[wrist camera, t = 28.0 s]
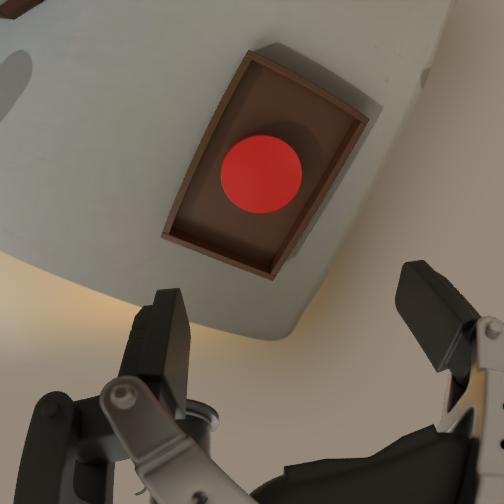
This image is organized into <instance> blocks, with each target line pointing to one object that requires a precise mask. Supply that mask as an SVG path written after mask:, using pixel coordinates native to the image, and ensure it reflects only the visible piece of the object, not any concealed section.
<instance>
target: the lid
mask: <svg viewBox="0 0 504 504" xmlns="http://www.w3.org/2000/svg"><path fill="white" fill-rule="evenodd" d="M301 179H302V168H301V163H300V160H299V158H298V156H297V154H296V153H295V151H294V150H293V149H292V148H291V147H290V146H289V145H288V144H287V143H286V142H284V141H283V140H282V139H281V138H280V137H278V136H277V137H276V136H274V135H271V134H266V133H254V134H249V135H246V136H244V137H242V138H240V139H238V140H237V141H235V142H234V143H233V144H232V145H231V146H230V147H229V149H228V150H227V152H226V153H225V155H224V158H223V161H222V166H221V182H222V186H223V189H224V191H225V193H226V195H227V196H228V198H229V199H230V200H231V201H232V202H233V203H234V204H235V205H237V206H238V207H239V208H241V209H243V210H246V211H249V212H253V213H267V212H272V211H275V210H278V209H280V208H281V207H283V206H285V205H286V204H287V203H288V202H290V201H291V200H292V198H293V197H294V196H295V194H296V193H297V191H298V189H299V187H300V184H301Z"/></svg>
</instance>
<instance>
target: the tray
mask: <svg viewBox="0 0 504 504" xmlns="http://www.w3.org/2000/svg"><path fill="white" fill-rule="evenodd" d="M368 121H369V119H368V118H367V117H366V116H364V115H363V114H361V113H360V112H358V111H357V110H355V109H354V108H352V107H351V106H349V105H348V104H346V103H345V102H343V101H342V100H340V99H339V98H337V97H336V96H334V95H332V94H331V93H329V92H327V91H326V90H324V89H322V88H321V87H319V86H317V85H316V84H314V83H312V82H311V81H309V80H307V79H305V78H304V77H302V76H300V75H298V74H296V73H294V72H293V71H291V70H289V69H287V68H285V67H283V66H281V65H279V64H277V63H275V62H273V61H271V60H269V59H267V58H265V57H263V56H261V55H259V54H257V53H254V52H252V51H250V50H248V52H247V53H246V55H245V57H244V59H243V60H242V62H241V64H240V66H239V68H238V69H237V71H236V73H235V75H234V77H233V79H232V80H231V82H230V84H229V86H228V88H227V90H226V92H225V94H224V96H223V97H222V99H221V101H220V103H219V105H218V107H217V109H216V111H215V113H214V115H213V117H212V119H211V121H210V123H209V125H208V127H207V130H206V132H205V134H204V136H203V138H202V140H201V142H200V144H199V146H198V149H197V151H196V153H195V155H194V157H193V160H192V162H191V164H190V166H189V169H188V171H187V173H186V175H185V178H184V180H183V182H182V185H181V187H180V189H179V192H178V194H177V197H176V199H175V201H174V204H173V206H172V209H171V211H170V214H169V216H168V219H167V221H166V224H165V227H164V229H163V232H162V234H161V238H163V239H166V240H168V241H171V242H173V243H176V244H178V245H181V246H183V247H186V248H189V249H191V250H194V251H196V252H199V253H201V254H204V255H207V256H209V257H212V258H214V259H217V260H219V261H222V262H225V263H227V264H230V265H232V266H235V267H238V268H240V269H243V270H246V271H248V272H251V273H254V274H256V275H259V276H261V277H264V278H267V279H269V280H272V281H273V280H274V278H275V276H276V275H277V273H278V272H279V270H280V269H281V267H282V265H283V264H284V262H285V261H286V259H287V257H288V256H289V254H290V253H291V251H292V249H293V248H294V246H295V245H296V243H297V241H298V240H299V238H300V236H301V235H302V233H303V232H304V230H305V228H306V227H307V225H308V223H309V222H310V220H311V218H312V217H313V215H314V214H315V212H316V210H317V209H318V207H319V205H320V204H321V202H322V200H323V199H324V197H325V195H326V194H327V192H328V190H329V189H330V187H331V185H332V183H333V182H334V180H335V178H336V177H337V175H338V173H339V172H340V170H341V168H342V166H343V165H344V163H345V161H346V160H347V158H348V156H349V154H350V153H351V151H352V149H353V147H354V146H355V144H356V142H357V140H358V139H359V137H360V135H361V133H362V132H363V130H364V128H365V126H366V124H367V123H368ZM254 133H266V134H271V135H274V136H276V137H277V136H278V137H280V138H281V139H282V140H283V141H284V142H286V143H287V144H288V145H289V146H290V147H291V148H292V149H293V150H294V151H295V153H296V154H297V156H298V158H299V160H300V163H301V168H302V179H301V184H300V187H299V189H298V191H297V193H296V194H295V196H294V197H293V198H292V200H291V201H290V202H288V203H287V204H286V205H285V206H283V207H281V208H280V209H278V210H275V211H272V212H267V213H253V212H249V211H246V210H243V209H241V208H239V207H238V206H237V205H235V204H234V203H233V202H232V201H231V200H230V199H229V198H228V196H227V195H226V193H225V191H224V189H223V186H222V182H221V166H222V161H223V158H224V155H225V153H226V152H227V150H228V149H229V147H230V146H231V145H232V144H233V143H234V142H235V141H237V140H238V139H240V138H242V137H244V136H246V135H249V134H254Z"/></svg>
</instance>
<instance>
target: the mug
mask: <svg viewBox="0 0 504 504" xmlns="http://www.w3.org/2000/svg"><path fill="white" fill-rule="evenodd" d="M42 2H43V0H0V18H5V19H16V18H17V17H19V16H20V15H22V14H23V13H25V12H27V11H28V10H30V9H31V8H33V7H35V6H36V5H38V4H40V3H42Z"/></svg>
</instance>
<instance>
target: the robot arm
mask: <svg viewBox="0 0 504 504" xmlns="http://www.w3.org/2000/svg"><path fill="white" fill-rule="evenodd" d="M395 304H396V308H397V311H398V312H399V314H400V315H401V317H402V318H403V320H404V321H405V323H406V324H407V326H408V327H409V329H410V330H411V332H412V333H413V335H414V336H415V338H416V339H417V341H418V343H419V344H420V346H421V347H422V349H423V351H424V352H425V353H426V355H427V357H428V359H429V360H430V362H431V363H432V365H433V367H434V368H435V370H436V371H437V373H438V372H441V371H444V370H446V369H449V370H450V371H451V373H450V374H449V376H448V379H447V385H446V393H445V399H444V406H443V411H442V416H441V420H440V423H439V425H438V427H437V428H435V426H434V424H432V425H430V426H428V427H425V428H423V429H420V430H418V431H415V432H413V433H410V434H408V435H405V436H402V437H401V438H400V439H398V440H397V441H395V442H393V443H392V444H390V445H389V446H387V447H386V448H384V449H382V450H381V451H379V452H378V453H376V454H375V455H372V456H371V457H367V458H346V459H322V460H318V461H313V462H308V463H302V464H296V465H290V466H285V467H284V474H283V475H281V476H279V477H276V478H274V479H272V480H270V481H268V482H266V483H264V484H263V485H262V486H259V487H258V488H257V489H255V490H254V491H253V492H251V493H250V494H249V495H248V494H247V493H246V492H245V491H244V490H243V489H242V488H241V487H240V486H239V485H237V484H236V483H235V482H234V481H233V480H232V479H231V478H230V477H229V476H228V475H227V474H226V473H225V472H224V471H223V470H222V469H221V468H220V467H219V466H218V465H217V464H216V463H215V462H214V461H213V460H212V459H211V421H210V419H209V418H208V417H206V416H205V415H203V414H201V413H198V412H195V411H191V410H186V395H187V380H188V366H189V351H190V339H191V335H190V326H189V321H188V317H187V313H186V309H185V305H184V301H183V297H182V294H181V290H180V289H179V288H174V289H162V290H157V292H156V295H155V299H154V302H153V305H149V306H143V308H142V309H141V310H140V311H139V312H138V314H137V315H136V316H135V318H134V322H133V325H132V330H131V331H130V335H129V340H128V342H127V345H126V349H125V353H124V356H123V359H122V363H121V367H120V371H119V374H118V377H117V378H115V379H113V380H111V381H110V382H108V383H107V384H106V385H105V386H104V388H103V389H102V391H101V394H100V395H98V396H95V397H91V398H87V399H82V400H78V401H73V400H72V399H71V398H70V397H69V396H68V395H67V394H65V393H63V392H59V391H54V392H50V393H48V394H46V395H44V396H43V397H42V398H41V399H40V400H39V401H38V402H37V404H36V406H35V409H34V412H33V415H32V418H31V422H30V425H29V429H28V433H27V437H26V441H25V445H24V449H23V453H22V458H21V462H20V467H19V472H18V478H17V484H16V489H15V496H14V503H13V504H113V485H114V468H115V462H116V461H121V460H125V459H130V458H131V460H132V461H133V463H134V465H135V471H136V473H137V475H138V477H139V478H140V479H141V481H142V482H143V484H144V485H145V488H144V489H143V490H142V491H141V492H139V493H136V494H135V495H140V494H142V493H144V492H145V491H146V490H147V489H148V491H149V504H504V323H503V322H501V321H500V320H499V319H497V318H495V317H492V316H484V317H481V316H480V315H479V313H478V312H477V311H476V310H475V309H474V308H473V307H472V305H471V304H470V303H469V302H468V301H467V300H466V299H465V298H464V297H463V295H462V294H460V293H459V291H458V290H457V289H456V288H455V287H453V285H452V284H451V283H450V282H449V280H447V278H446V277H444V276H442V275H441V274H439V273H437V272H436V271H434V270H433V269H432V268H431V267H430V266H429V265H428V264H427V263H426V262H425V261H424V260H418V261H412V262H406V263H404V265H403V267H402V270H401V275H400V279H399V284H398V287H397V291H396V296H395Z"/></svg>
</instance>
